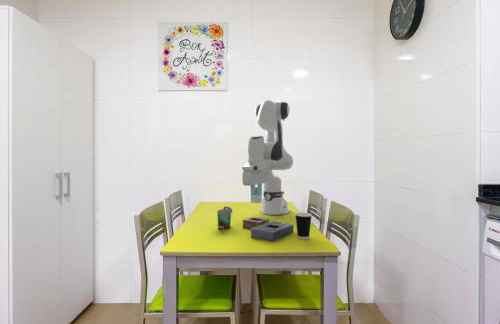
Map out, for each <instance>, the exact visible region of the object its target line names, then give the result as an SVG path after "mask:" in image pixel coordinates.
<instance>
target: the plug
mask: <svg viewBox="0 0 500 324" xmlns="http://www.w3.org/2000/svg"><path fill="white" fill-rule="evenodd" d="M255 190H256V193H252V189H251V188H250V203H254V204H262V199H263V186H262V187H258V186H255Z"/></svg>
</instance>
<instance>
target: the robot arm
mask: <svg viewBox="0 0 500 324" xmlns="http://www.w3.org/2000/svg"><path fill="white" fill-rule="evenodd" d="M254 111H255V116H256V118H257V124H258V126H259V128H261V129H262V130H264V131H265V137H264V136H262V135H252V136H250V137H249V139H248V146H247V153H248V159H247V162H246V163H245V164H244V165H243V166H241V167H242V176H241V177H242V184H243V186H249V187H250V190H251V189H252V193H256V190H255V187H256V185H257V187H262V188H264V190H263V192H262V203H261V209H260V210H259V212H260V213H261V214H263V215H273V216H274V215H275V216H276V215H277V216H278V215H287V214H288V213H290V212H291V211H292V208H288V206H289V203H288V201H287V200H286V199H285V198H284V197H283V195H285V191H283V190H282V179H281V178H280V176H278V175H276V174H274V173H273V171H285V170H290V169H291V168H292V166H293V164H294V160H293V156H292V155H291V154H290V153H288V152H287V150H286V149H285V147H284V143H283V141H284V139H283V134H284V132H283V131H284V129H283V122H284V121H285V120H286V119H287V118H288V117H289V115H290V111H291V110H290V105H289V103H288V102H287V101H274V100H271V99H266V100H264V101H263V102H260V103H257V105H256V106H255V110H254Z"/></svg>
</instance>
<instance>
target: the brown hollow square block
mask: <svg viewBox="0 0 500 324" xmlns="http://www.w3.org/2000/svg"><path fill="white" fill-rule="evenodd" d="M269 222H270V219H269V218H265V217H264V218H263V217H258V216H250V217H248V218H245V219H242V228H243V229H249V230H251V229H252V228H255V227H257V226H260V225H263V224H266V223H269Z"/></svg>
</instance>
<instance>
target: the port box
mask: <svg viewBox="0 0 500 324" xmlns="http://www.w3.org/2000/svg"><path fill="white" fill-rule="evenodd" d="M294 227H295V226H294V223H287V222H281V221H275V220H272V221H269V223H266V224H263V225H260V226H257V227H255V228H252V229H250V238H252V237H253V238H252V239H258V240H263V241H268V242H275V241H278V240H280V239H282V238H285V237H286V236H289V235H290V234H293V233H294V229H295V228H294Z"/></svg>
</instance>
